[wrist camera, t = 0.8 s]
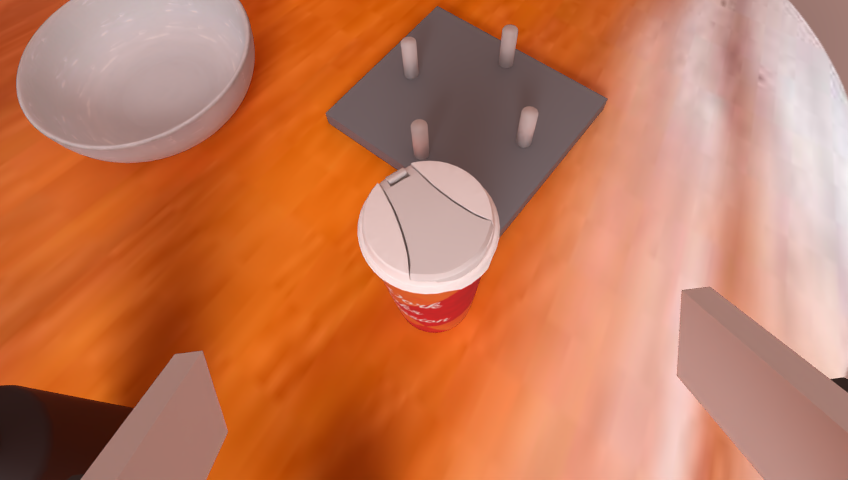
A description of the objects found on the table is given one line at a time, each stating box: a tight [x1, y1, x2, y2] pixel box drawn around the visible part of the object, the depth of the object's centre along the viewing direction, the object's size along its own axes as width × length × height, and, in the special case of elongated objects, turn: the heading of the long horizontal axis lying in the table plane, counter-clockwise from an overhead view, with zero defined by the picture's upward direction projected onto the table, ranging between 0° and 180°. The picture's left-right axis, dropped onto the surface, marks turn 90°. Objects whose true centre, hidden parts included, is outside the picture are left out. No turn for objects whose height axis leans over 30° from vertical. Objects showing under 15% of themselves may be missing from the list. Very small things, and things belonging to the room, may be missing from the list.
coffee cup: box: [358, 161, 500, 333], centre depth 36 cm, size 8×8×15 cm
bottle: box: [0, 385, 134, 480], centre depth 29 cm, size 7×7×20 cm
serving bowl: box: [16, 0, 255, 163], centre depth 49 cm, size 21×21×7 cm
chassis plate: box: [326, 6, 607, 238], centre depth 47 cm, size 20×17×6 cm
